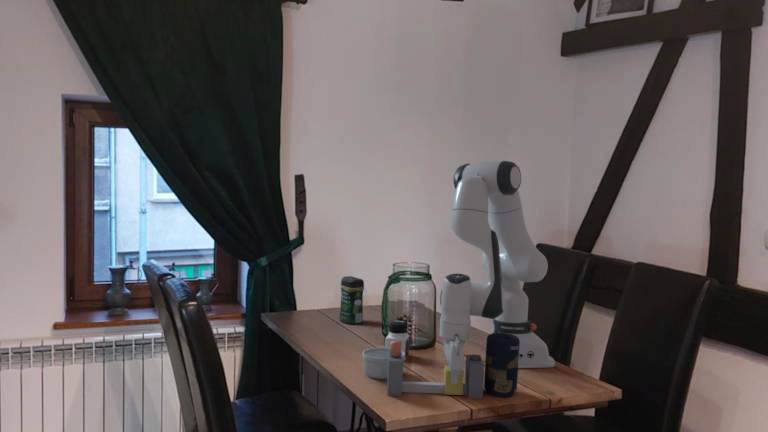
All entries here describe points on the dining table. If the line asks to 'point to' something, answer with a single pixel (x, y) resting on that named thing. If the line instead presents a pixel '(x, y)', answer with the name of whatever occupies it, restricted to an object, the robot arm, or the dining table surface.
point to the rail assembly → (470, 387)
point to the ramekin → (377, 362)
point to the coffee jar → (351, 300)
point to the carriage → (449, 387)
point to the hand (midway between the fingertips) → (452, 377)
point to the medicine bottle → (398, 336)
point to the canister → (501, 364)
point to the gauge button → (395, 348)
